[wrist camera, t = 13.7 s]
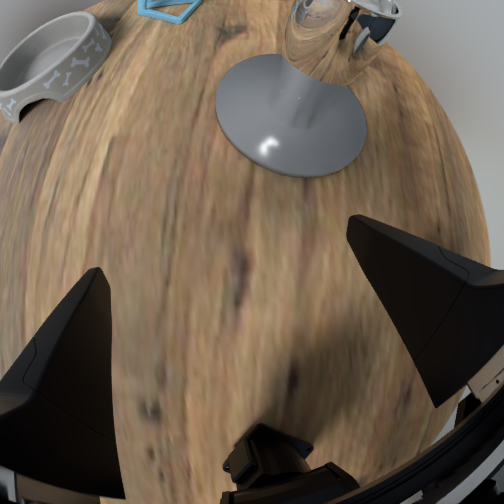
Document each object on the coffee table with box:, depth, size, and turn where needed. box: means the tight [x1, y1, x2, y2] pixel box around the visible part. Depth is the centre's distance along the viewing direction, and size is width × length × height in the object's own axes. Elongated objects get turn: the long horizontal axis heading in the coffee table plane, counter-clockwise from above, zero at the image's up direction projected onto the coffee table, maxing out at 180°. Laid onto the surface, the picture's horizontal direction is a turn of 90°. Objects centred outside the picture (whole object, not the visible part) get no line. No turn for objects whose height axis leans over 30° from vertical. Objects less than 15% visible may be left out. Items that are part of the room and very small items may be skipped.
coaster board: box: [215, 54, 367, 178], centre depth 25 cm, size 16×16×1 cm
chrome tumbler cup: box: [267, 0, 403, 130], centre depth 17 cm, size 7×7×15 cm
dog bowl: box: [0, 11, 112, 123], centre depth 20 cm, size 17×18×5 cm
